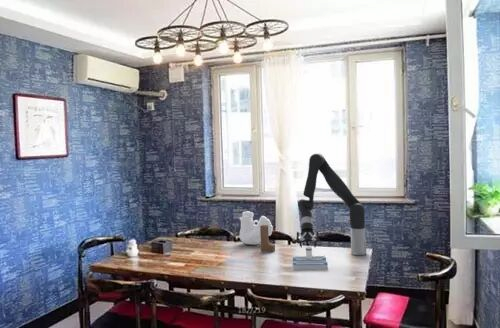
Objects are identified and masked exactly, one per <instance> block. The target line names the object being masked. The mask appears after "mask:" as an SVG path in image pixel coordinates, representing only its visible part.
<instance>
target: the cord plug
mask: <svg viewBox="0 0 500 328" xmlns="http://www.w3.org/2000/svg"><path fill="white" fill-rule="evenodd" d="M312 249H313V248H312V246H307V247H305V256H306V259H312V256H313V252H312V251H313V250H312Z"/></svg>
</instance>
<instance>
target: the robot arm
mask: <svg viewBox="0 0 500 328" xmlns="http://www.w3.org/2000/svg"><path fill="white" fill-rule="evenodd" d="M319 172H320V173H321V174H322V176H323V178H324V180H325V182H326V184H327V185H328V187H329V188H330V189H331V191H332V192H333V193H334V194H335V195H336V196H337V197H338V198H340V199H341V200H342V201H343V202H344V203H345V205H346V206H347V208H348V209H349V225H350V253H351V255H354V256H365V254H366V255H367V240H366V223H365V222H366V221H365V219H366V218H365V215H366V214H365V211H366V208H365V206H364V204H362V203H361V202H360V201H359V200H358V199H357V198H356V197H355V195H354V194H353V193H352V191H351V190H350V188H348V186H347V185H346V183H345V181H343V180H342V178H341V177H340V176H339V175H338V174H337V172H336V171H334V169H333V168H332V167H331V166H330V164H329V163H328V161H327V160H326V159H325V157H324V155H323V154H321V153H313V154H312V155H310V157H309V161H308V171H307V177H306V181H305V185H304V189H303V196H305V197H306V198H308V199H305V198H301V199H299V200H298V202H297V207H298V209H299V213H300V217H301V218H300V219H301V220H300V226H301V231H300V232H299V231H296V242H297V243H299V247H300V248H302V247H303V241H304V240H312V241H313V244H314V245H313V247H314V248H316V247H317V243H318V242H319V241H320V234H319V231H316V232H314V225H313V224H314V223H313V222H314V221H313V217H312V216H313V215H312V210H313V209H314V208H315V207H314V205H315V204H314V202H315V201H314V198H315V197H314V195H315V191H316V187H317V179H318V173H319ZM315 236H316V237H315ZM299 237H300V238H299Z"/></svg>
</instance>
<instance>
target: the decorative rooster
mask: <svg viewBox="0 0 500 328" xmlns="http://www.w3.org/2000/svg"><path fill="white" fill-rule="evenodd" d="M254 216H255V215H254V212H252V211H249V210H246V211H243V212H242V213H241V216H240V217H238V218H239V220H240V230H239V240H240V241H241V243H242V244H244V245H245V244H246V245H255V246H256V245H258V244H261V235H260V226H261V225H268V234H269V237H270V236H271V235H272V233H273V230H274V226H273V225H272V222H271V220H270V219H269V218H268V217H266V216H265V215H261V216H260V217H259V220H258V219H255V220H254ZM256 223H257V224H256Z"/></svg>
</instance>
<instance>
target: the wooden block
mask: <svg viewBox="0 0 500 328" xmlns="http://www.w3.org/2000/svg"><path fill="white" fill-rule="evenodd" d="M260 235H261V242H260V252H263V251H264V252H266V253H274V252H275V251H276V245H275V243H272V242H270V240H269V239H270V238H269V237H270V236H269V234H268V225H261V226H260Z"/></svg>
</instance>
